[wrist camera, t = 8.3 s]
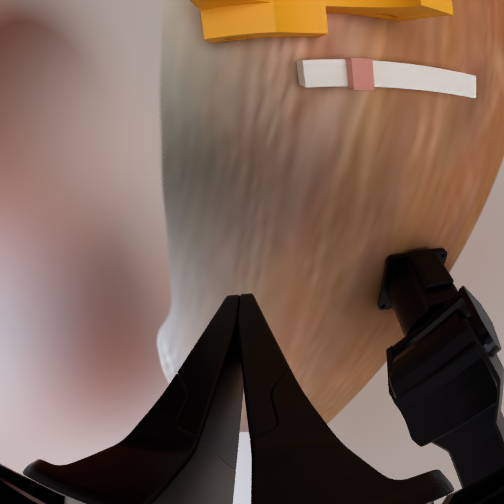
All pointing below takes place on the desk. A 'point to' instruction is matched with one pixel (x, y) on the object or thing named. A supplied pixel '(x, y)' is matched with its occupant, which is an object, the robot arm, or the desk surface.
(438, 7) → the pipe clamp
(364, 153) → the desk surface
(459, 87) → the guide channel
